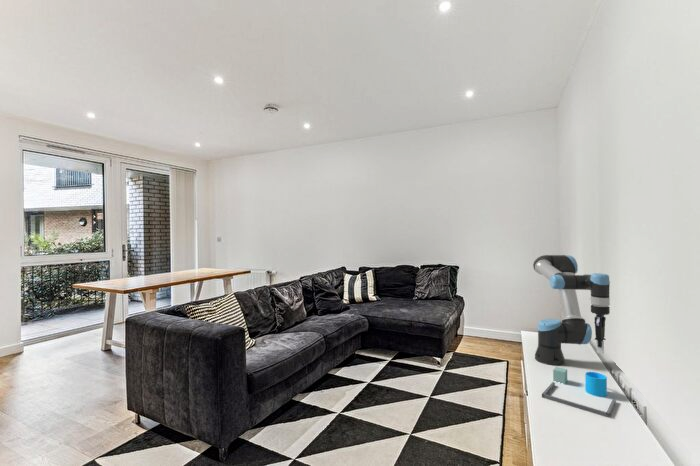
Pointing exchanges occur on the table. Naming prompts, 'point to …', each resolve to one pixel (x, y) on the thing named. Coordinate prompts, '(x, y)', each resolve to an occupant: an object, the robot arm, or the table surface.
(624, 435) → the table surface
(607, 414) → the tray frame
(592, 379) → the mug
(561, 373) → the block
